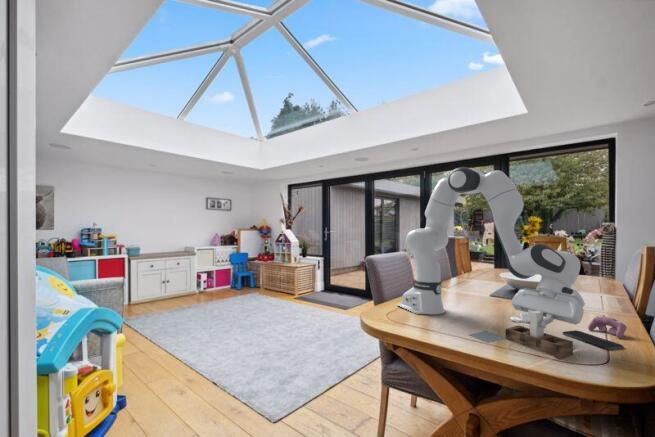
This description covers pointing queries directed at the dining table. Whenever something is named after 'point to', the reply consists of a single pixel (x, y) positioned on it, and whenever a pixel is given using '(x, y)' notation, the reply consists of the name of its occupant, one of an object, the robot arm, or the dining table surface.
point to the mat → (487, 336)
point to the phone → (593, 340)
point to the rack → (540, 342)
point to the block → (536, 324)
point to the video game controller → (601, 323)
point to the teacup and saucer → (523, 318)
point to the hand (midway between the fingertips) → (535, 325)
